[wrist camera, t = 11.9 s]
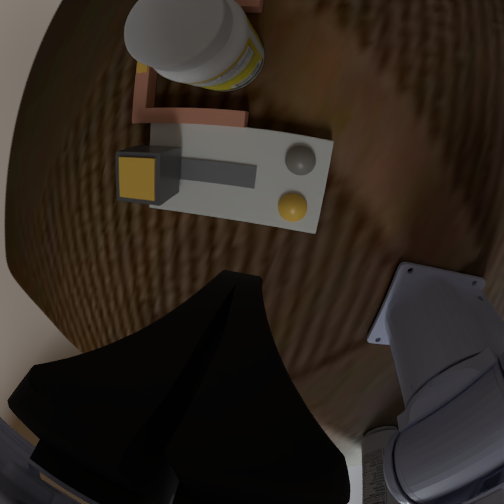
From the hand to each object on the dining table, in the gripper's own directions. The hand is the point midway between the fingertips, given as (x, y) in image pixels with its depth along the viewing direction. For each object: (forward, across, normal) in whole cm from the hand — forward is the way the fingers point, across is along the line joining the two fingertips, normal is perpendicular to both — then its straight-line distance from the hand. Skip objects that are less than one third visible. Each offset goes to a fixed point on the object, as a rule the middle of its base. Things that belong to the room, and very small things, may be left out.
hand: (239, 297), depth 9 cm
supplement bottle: (+10, +4, -10) cm, 14 cm away
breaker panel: (+10, +2, -2) cm, 10 cm away
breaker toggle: (+9, +7, -2) cm, 12 cm away
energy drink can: (+10, -21, +29) cm, 37 cm away
